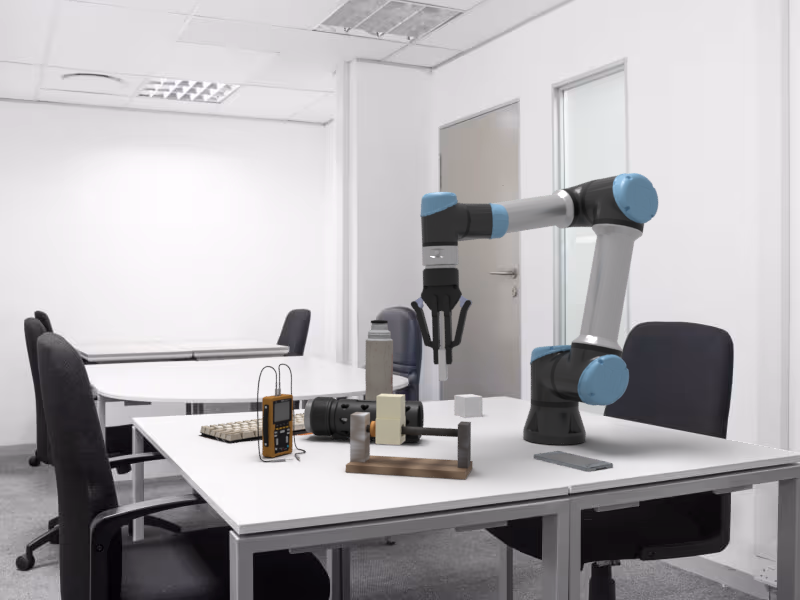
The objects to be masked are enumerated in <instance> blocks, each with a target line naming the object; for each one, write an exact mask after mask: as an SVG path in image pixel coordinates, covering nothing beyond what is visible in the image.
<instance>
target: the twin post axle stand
mask: <svg viewBox="0 0 800 600" xmlns="http://www.w3.org/2000/svg"><path fill="white" fill-rule="evenodd" d="M471 423H472V421H460V422H459V423H458V424H457V428H447V427H444V428H442V427H428V426H427V427H424V426H423V427H406V426H401V434H405V435H422V436H426V437H427V436H430V437H447V438H448V437H449V438H451V437H452V438H457V459H443V458H441V459H440V458H425V457H424V458H421V457H410V456H409V457H407V456H406V457H405V456H390V455H389V456H385V455H371V452H370V451H371V450H370V449H371V447H370V446H371V444H370V443H371V442H370V441H371V440H370V435H371V437H376V421H372V422H371V425H370V413H368V412H355V413H353V414H351V415H350V437H349V441H350V443H349V447H350V448H349V453H350V454H349V457H350V458H349V462H347V463H346V464H345V473H354V474H367V475H370V474H371V475H385V476H399V477H402V476H403V477H418V478H432V479H433V478H434V479H450V480H451V479H453V480H466V479H467V477H468V476H469V474H470V473H471V472H472V470H473V468H474V467H473V466H474V465H473V460H472V458H471V457H472V456H471V451H472V449H471V448H472V447H471V446H472V445H471V442H472V441H471V439H472V434H471V433H472V430H471V429H472V426H471V425H472V424H471Z"/></svg>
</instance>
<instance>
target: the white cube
mask: <svg viewBox="0 0 800 600" xmlns="http://www.w3.org/2000/svg"><path fill="white" fill-rule="evenodd" d="M453 397H454V406H453V407H454V409H453V411H454V416H457V417H459V416H460V418H463V419H467V418H468V419H470V418H471V419H472V418H482V417H483V396H482V395H477V394H472V393H468V394H454V395H453Z"/></svg>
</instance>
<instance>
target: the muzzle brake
mask: <svg viewBox="0 0 800 600" xmlns="http://www.w3.org/2000/svg"><path fill="white" fill-rule="evenodd" d="M355 412H368V413H370V425H371V422H372V421H376V400H365V399H357V398H340V399H339V400H337V398H336V397H333V396H316V397H315V398H309V399H308V400H307V402H306V403H305V406H304V412H303V413H304V425H305V429H306V431H307V432H308V433H313V434H312V435H314V436H319V437H320V436H321V437H331V439H332V440H337V441H341V440H342V441H345V440H348V438H350V415H351V414H353V413H355ZM424 415H425V413H424V405H423V402H422V401H419V400H408V401H407V400H405V416H406V425H405V426H406V427H424V422H425V421H424V420H425V419H424V418H425V417H424ZM422 436H423V435H405V441H404V442H403V443H419V441H420V440H421V438H422ZM373 440H375V441H376V437H371V435H370V441H373Z"/></svg>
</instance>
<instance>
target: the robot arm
mask: <svg viewBox="0 0 800 600" xmlns="http://www.w3.org/2000/svg"><path fill="white" fill-rule="evenodd" d="M458 201H459V200H458V196H457V194H456V193H455V192H450V191H435V192H427V193H425V194H424V195H422V197H421V204H420V214H419V215H420V222H421V224H420V225H421V226H420V227H421V257H422V258H421V260H422V261H421V262H422V266H423V267H424V268H423V270H422V291H421V293H420V296H419V297H418V298H417V299H415V300H413V301H411V302H410V307H411V309H413V311H414V312H415V314H416V318H417V323H418V325H419V329H420V333H421V337H422V341H423V344H424V346H425V347H428V348H430V349H432V353H433V355H432V356H433V360H432V361H433V364H434V365H438V381H439V382H446V381H448V380H449V373H448V372H449V369H448V368H449V367H448V365H452V363H453V348H456V347H458V346H460V345H461V344H462V338H463V334H464V330H465V329H464V328H465V325H466V319H467V314H468V311H469V310H470V308H471V306H472V304H473V301H472V299H468V298H466V297H465V296H464V295H462V294H463V293H462V291H461V289H460V276H459V275H460V273H459V268H458V267H456V266H459V243H458V242H461V241H462V242H464V241H472V240H473V241H474V240H487V239H488V240H494V239H501V238H503V237H504V236H505V235H506V234H511V233H517V232H522V231H530V230H536V229H541V228H548V227H554V226H556V227H557V228H559V229H568V228H591V230H592V231H593V232H594V234H595V235H596V240H595V241H596V242H595V246H594V251H593V256H592V257H593V258H592V261H591V262H592V263H591V267H590V269H591V270H590V274H589V281H588V287H587V292H586V296H585V297H586V298H585V303H584V309H583V314H582V319H581V324H580V332H579V335H578V336H577V337H576V338H574V339H573V340H572V341H571V344H562V345H560V344H559V345H546V346H538V347H535V348H533V349H532V351H531V354H530V355H531V356H530V362H529V365H530V407H529V411H528V413H527V417H526V420H525V423H524V426H523V429H522V431H523V432H522V434H523V436H522V438H523V440H526V441H527V442H531V443H535V444H543V445H544V444H545V445H555V446H557V445H558V446H560V445H566V446H567V445H578V444H582V443H584V442H586V440H587V436H586V435H587V433H586V429H585V426H584V423H583V422H584V421H583V419H582V416H581V412H580V407H579V404H580V403H581V404H582V403H583V404H585V405H590V406H609V405H610V406H611V404H614V403H615V402H616V401H618V400H620V399H621V397H622V396H623V395H624V394H625V392H626V390H627V388H628V385H629V381H630V380H629V379H630V372H629V371H630V370H629V369H628V367H627V366H628V365H627V364H626V362H625V360H623V358H622V356H623V349H622V347H621V346H620V344H619V342H618V339H619V336H620V335H619V333H620V328H621V321H622V316H623V310H624V304H625V299H626V298H625V297H626V293H627V292H626V291H627V287H628V280H629V275H630V270H631V269H630V268H631V263H632V257H633V253H634V246H635V242H636V241H637V240H638V239H640V238H641V237H642V236H643V234H644V233H643V232H644V228H645V224H646V223H648V222H650V221H651V220H652V218H655V216H656V214H657V212H658V209H659V196H658V193H657V189H656V188H655V186H653V182H651V180H650V179H649V178H647V176H645V175H643V174H641V173H636V172H631V173H624V172H623V173H620V174H618V175H613V176H609V177H603V178H598V179H591V180H588V181H586V182H582V183H579V184H577V185H573V186H571V187H569V186H568V187H566V188H561V189H560V188H559V189H555V190H554V191H553V192H552V193H551V194H548V195H542V196H541V195H540V196H533V197H526V198H525V197H524V198H519V199H512V200H506V201H498V202H488V203H463V202H458ZM458 302H459V307H460V308H461V309H460V312H459V316H458V321H457V325H456V330H455V335H454V338H453V321H452V320H453V318H452V316H453V310H454V309H455V308H456V306H457V304H458ZM424 303H425V305H426V306H427V307H428V308H429V310H430V311H431V313H430V314H431V329H432V330H431V334H432V336H431V335H430V331H429V327H428V323H427V320H426V315H425V313H424V310H423V308H424ZM441 312H443V318H444V319H443V321H444V325H443V326H444V328H443V329H444V348H441V346H442V345H441V324H440V322H441V321H440V319H441V318H440V317H441ZM431 337H432V339H431Z"/></svg>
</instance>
